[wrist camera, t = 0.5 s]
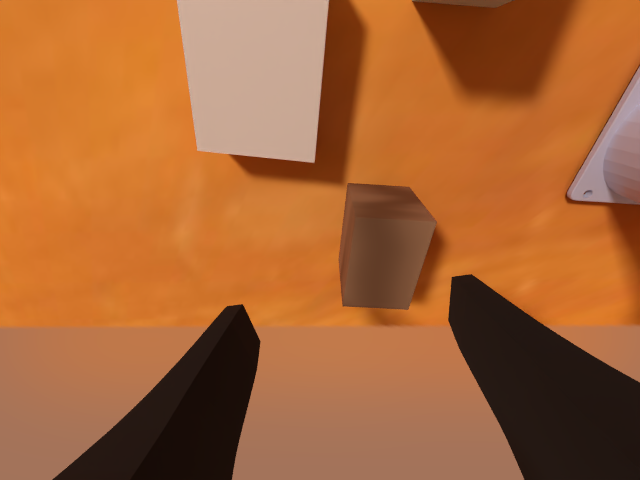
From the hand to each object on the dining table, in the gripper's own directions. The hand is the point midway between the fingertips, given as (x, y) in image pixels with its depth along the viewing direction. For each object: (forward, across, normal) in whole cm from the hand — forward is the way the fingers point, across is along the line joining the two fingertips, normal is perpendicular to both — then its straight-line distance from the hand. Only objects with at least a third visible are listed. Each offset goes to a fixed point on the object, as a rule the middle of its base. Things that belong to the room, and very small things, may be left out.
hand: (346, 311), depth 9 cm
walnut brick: (+10, -2, +2) cm, 10 cm away
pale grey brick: (+10, +2, -8) cm, 13 cm away
